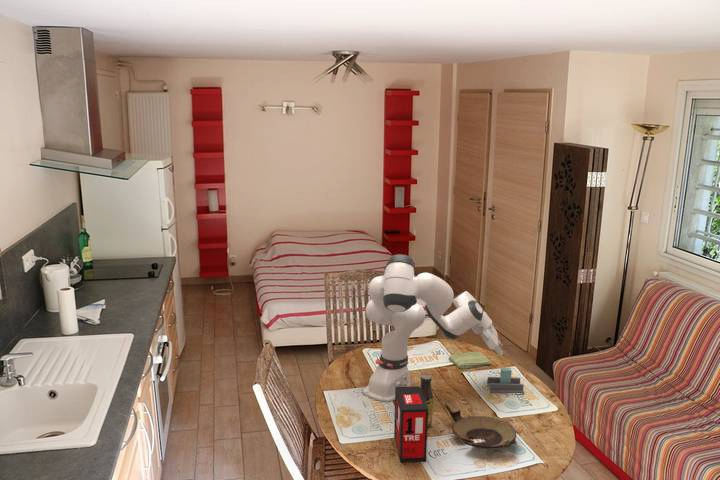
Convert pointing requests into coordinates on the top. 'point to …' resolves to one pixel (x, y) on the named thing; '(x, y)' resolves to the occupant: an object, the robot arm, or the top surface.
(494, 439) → the frying pan
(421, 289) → the robot arm
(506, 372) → the teal ridged block
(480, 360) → the washcloth
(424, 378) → the sauce bottle
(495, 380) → the slotted rack
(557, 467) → the top surface
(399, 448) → the cleaning product box
